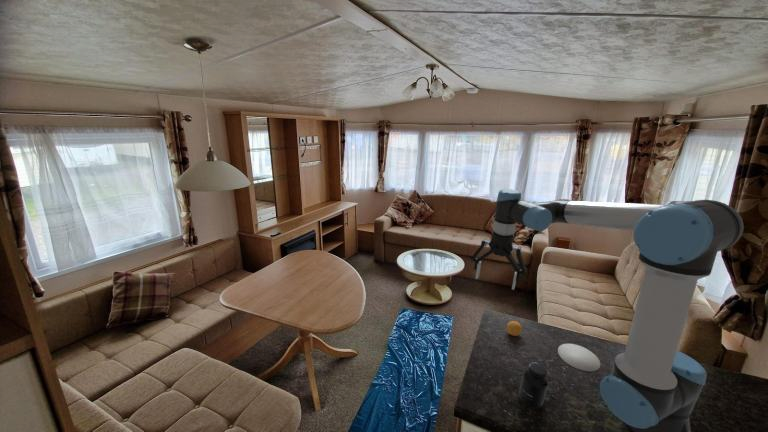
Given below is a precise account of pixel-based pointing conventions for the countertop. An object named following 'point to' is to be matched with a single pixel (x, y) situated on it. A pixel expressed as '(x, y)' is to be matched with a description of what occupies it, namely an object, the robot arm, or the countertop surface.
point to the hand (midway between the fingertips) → (494, 282)
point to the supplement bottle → (533, 385)
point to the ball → (514, 328)
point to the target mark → (579, 357)
